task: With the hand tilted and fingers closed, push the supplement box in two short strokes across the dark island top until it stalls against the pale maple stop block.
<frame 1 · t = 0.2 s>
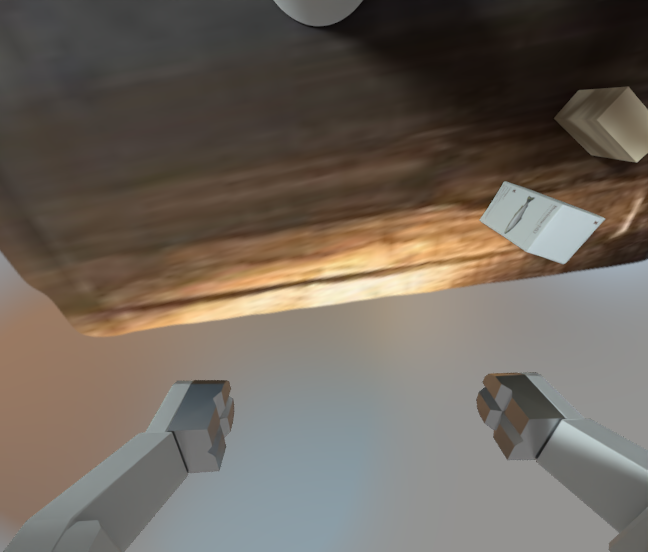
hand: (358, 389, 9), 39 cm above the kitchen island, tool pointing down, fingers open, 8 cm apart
stop block: (585, 124, 40), on the kitchen island
supplement box: (506, 206, 47), on the kitchen island
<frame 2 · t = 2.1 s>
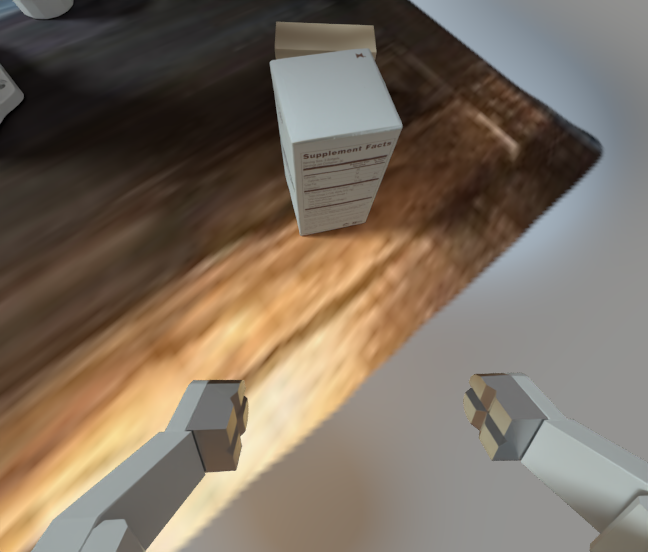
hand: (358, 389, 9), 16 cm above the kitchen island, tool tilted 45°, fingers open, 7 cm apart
stop block: (322, 101, 34), on the kitchen island
white cup: (49, 6, 37), on the kitchen island
supplement box: (325, 203, 29), on the kitchen island
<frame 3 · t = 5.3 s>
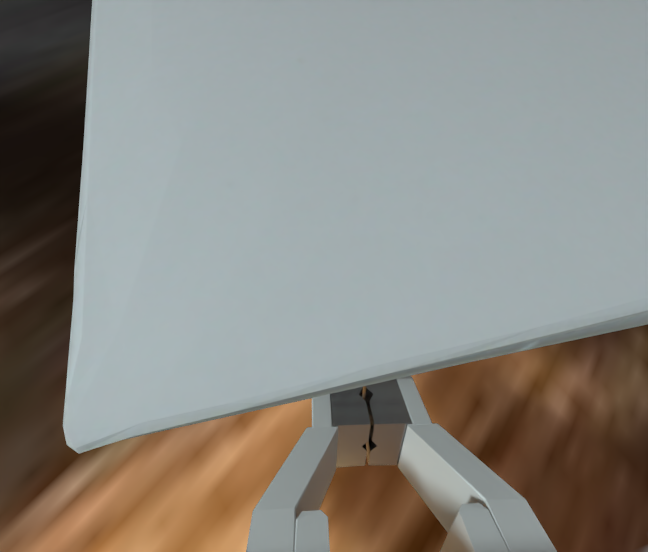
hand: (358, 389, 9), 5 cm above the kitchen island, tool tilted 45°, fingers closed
supplement box: (340, 291, 15), on the kitchen island, touching gripper
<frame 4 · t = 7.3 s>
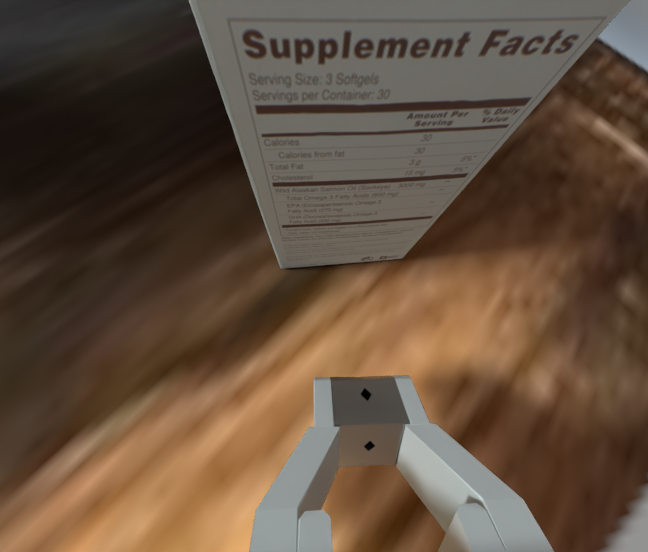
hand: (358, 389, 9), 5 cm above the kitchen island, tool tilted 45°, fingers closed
supplement box: (335, 213, 17), on the kitchen island
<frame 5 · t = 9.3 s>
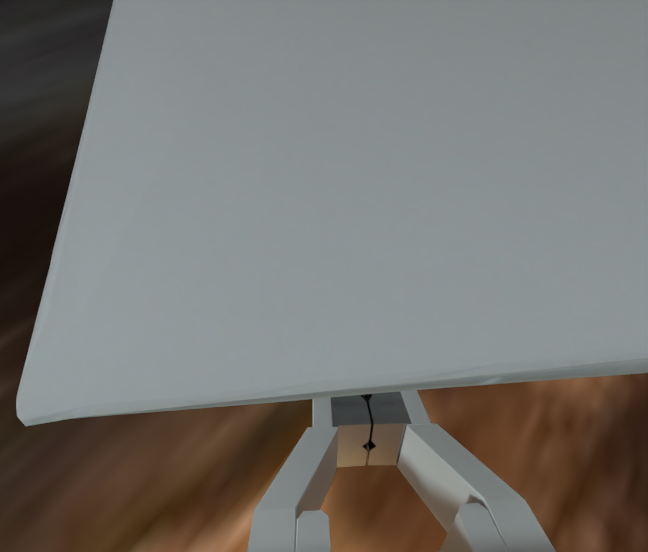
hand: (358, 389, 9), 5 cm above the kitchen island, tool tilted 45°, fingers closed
supplement box: (344, 296, 15), on the kitchen island, touching gripper
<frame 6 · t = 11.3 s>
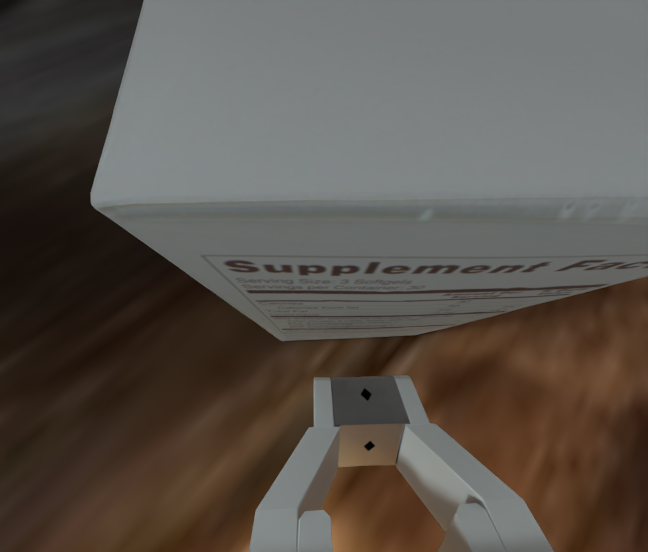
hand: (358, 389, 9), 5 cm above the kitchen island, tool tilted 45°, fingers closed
supplement box: (343, 276, 15), on the kitchen island
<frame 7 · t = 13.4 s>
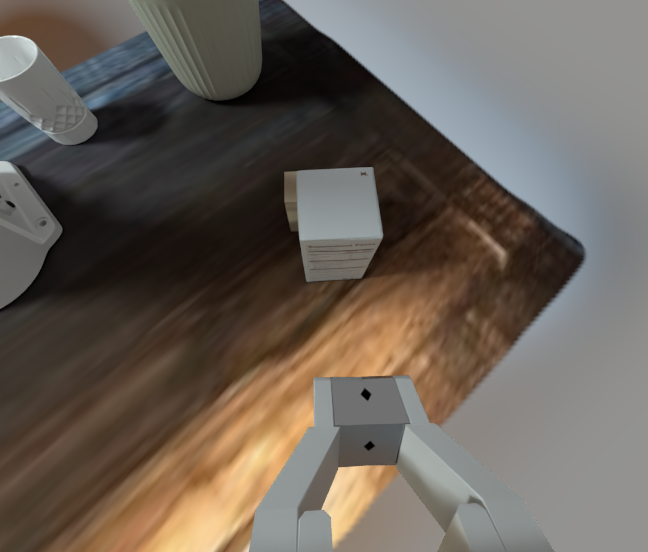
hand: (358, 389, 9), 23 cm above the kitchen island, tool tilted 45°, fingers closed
stop block: (326, 217, 37), on the kitchen island
white cup: (77, 129, 41), on the kitchen island
canister: (224, 78, 45), on the kitchen island
supplement box: (331, 256, 36), on the kitchen island
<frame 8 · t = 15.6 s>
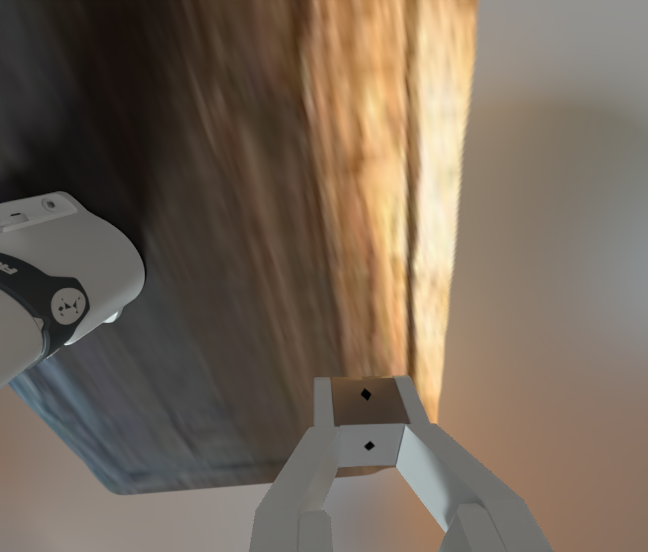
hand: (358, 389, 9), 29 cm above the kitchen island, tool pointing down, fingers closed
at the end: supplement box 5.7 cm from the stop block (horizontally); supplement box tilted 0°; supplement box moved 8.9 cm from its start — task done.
